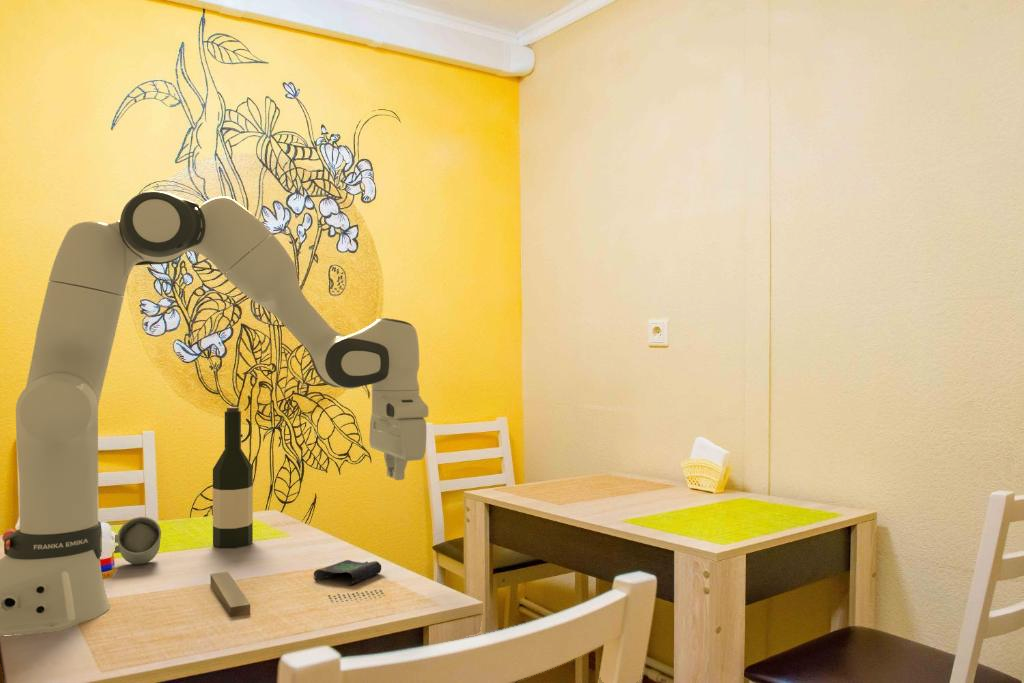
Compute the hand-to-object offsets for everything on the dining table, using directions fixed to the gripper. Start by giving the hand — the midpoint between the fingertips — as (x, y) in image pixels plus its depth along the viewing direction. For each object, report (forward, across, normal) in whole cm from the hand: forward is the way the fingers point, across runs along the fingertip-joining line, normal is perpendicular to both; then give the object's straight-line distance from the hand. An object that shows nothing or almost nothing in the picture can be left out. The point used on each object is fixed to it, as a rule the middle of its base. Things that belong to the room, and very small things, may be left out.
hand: (395, 478), depth 149 cm
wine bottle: (+19, -42, -22) cm, 51 cm away
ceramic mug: (+19, -33, -43) cm, 58 cm away
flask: (+20, 0, -11) cm, 23 cm away
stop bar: (+19, 0, -30) cm, 36 cm away
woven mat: (+20, +12, -11) cm, 26 cm away
